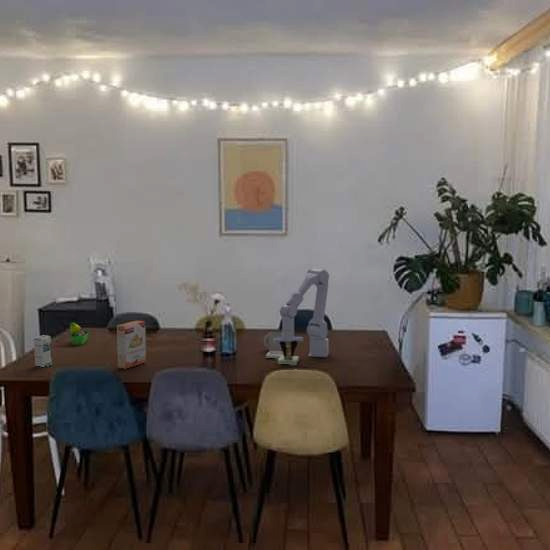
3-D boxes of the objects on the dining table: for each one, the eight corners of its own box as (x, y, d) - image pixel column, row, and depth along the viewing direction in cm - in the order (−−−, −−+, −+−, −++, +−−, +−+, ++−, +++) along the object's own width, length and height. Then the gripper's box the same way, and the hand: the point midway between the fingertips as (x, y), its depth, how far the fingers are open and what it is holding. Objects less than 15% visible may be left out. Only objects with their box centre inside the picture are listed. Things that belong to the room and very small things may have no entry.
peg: (291, 361, 337) (291, 345, 336) (290, 363, 334) (290, 347, 333) (285, 361, 337) (285, 345, 336) (284, 363, 334) (284, 347, 333)
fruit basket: (83, 345, 371) (82, 324, 369) (67, 345, 371) (66, 324, 370) (90, 340, 382) (89, 320, 381) (74, 340, 382) (73, 320, 381)
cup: (281, 352, 355) (281, 335, 353) (262, 351, 357) (262, 334, 355) (283, 348, 362) (283, 332, 360) (265, 347, 364) (265, 331, 362)
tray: (289, 355, 349) (289, 351, 349) (285, 359, 340) (285, 356, 340) (269, 354, 351) (269, 350, 351) (266, 358, 342) (266, 355, 342)
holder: (298, 360, 339) (298, 356, 339) (295, 365, 330) (295, 361, 330) (280, 359, 341) (280, 355, 340) (277, 364, 332) (277, 360, 332)
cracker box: (126, 370, 323) (125, 326, 320) (117, 368, 327) (115, 325, 324) (147, 363, 335) (145, 321, 332) (137, 361, 338) (136, 319, 335)
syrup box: (43, 368, 327) (42, 338, 325) (34, 366, 330) (33, 337, 328) (52, 365, 332) (51, 335, 330) (44, 363, 335) (42, 334, 333)
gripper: (300, 326, 338) (300, 353, 340) (271, 328, 335) (272, 355, 337) (304, 329, 332) (304, 357, 334) (274, 331, 329) (275, 359, 331)
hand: (288, 356), depth 335 cm, fingers closed on peg, 3 cm apart
